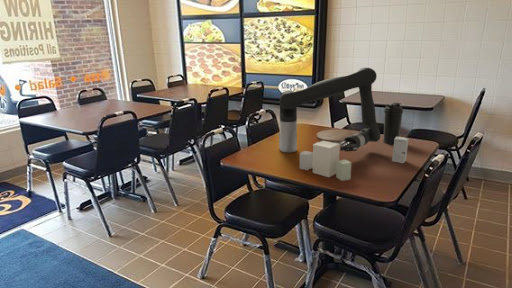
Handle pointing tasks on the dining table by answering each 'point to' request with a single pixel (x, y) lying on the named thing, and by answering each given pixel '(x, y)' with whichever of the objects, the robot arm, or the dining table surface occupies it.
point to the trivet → (334, 135)
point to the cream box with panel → (325, 158)
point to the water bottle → (392, 122)
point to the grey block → (306, 160)
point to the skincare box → (400, 149)
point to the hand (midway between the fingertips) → (335, 150)
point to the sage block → (343, 170)
